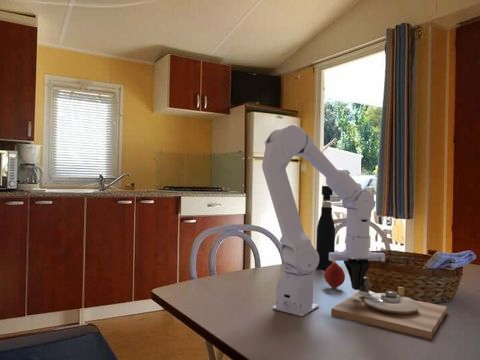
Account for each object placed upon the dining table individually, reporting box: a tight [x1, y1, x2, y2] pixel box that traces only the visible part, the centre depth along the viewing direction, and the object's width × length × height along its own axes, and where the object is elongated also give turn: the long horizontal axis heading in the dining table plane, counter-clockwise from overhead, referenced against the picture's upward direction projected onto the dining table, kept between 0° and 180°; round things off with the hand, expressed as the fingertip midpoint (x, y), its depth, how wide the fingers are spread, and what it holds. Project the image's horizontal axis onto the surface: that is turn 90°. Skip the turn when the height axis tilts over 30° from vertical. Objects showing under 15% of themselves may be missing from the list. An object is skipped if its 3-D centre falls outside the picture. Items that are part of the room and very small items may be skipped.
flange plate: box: [358, 276, 419, 314], centre depth 93 cm, size 16×12×4 cm
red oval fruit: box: [323, 261, 346, 290], centre depth 112 cm, size 6×6×8 cm
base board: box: [331, 286, 448, 340], centre depth 91 cm, size 21×21×5 cm
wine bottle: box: [315, 185, 336, 272], centre depth 139 cm, size 6×6×30 cm
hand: (356, 288), depth 99 cm, fingers closed
